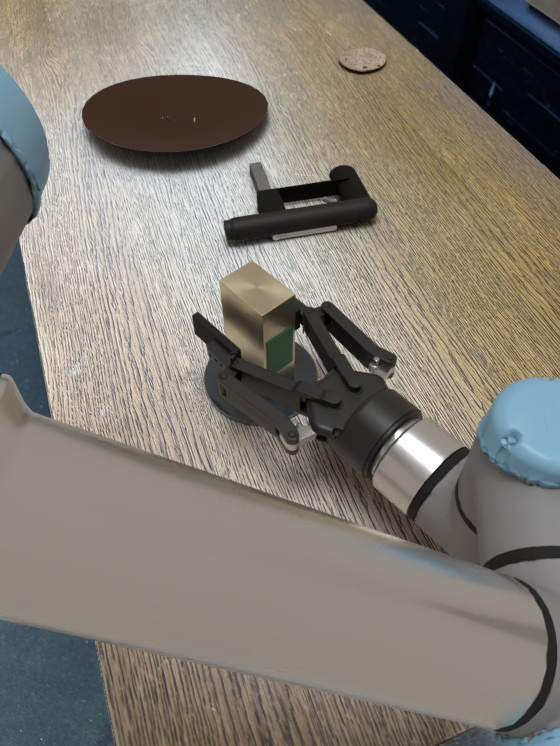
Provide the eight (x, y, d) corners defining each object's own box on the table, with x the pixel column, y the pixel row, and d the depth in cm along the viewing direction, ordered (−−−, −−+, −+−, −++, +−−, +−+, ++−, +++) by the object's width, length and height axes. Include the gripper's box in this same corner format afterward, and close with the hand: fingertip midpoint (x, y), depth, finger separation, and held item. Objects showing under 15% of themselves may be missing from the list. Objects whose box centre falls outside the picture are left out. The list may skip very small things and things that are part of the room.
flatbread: (351, 77, 108) (351, 71, 107) (332, 56, 112) (332, 50, 111) (394, 67, 109) (395, 61, 109) (374, 47, 114) (374, 42, 113)
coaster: (181, 375, 69) (181, 372, 69) (266, 319, 74) (265, 316, 74) (254, 446, 64) (254, 443, 63) (340, 381, 69) (340, 378, 68)
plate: (277, 78, 108) (277, 56, 105) (257, 180, 91) (256, 157, 88) (112, 71, 110) (107, 49, 107) (62, 169, 93) (55, 146, 90)
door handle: (207, 164, 89) (227, 233, 78) (347, 144, 92) (384, 208, 81) (209, 185, 91) (229, 255, 81) (345, 165, 94) (382, 230, 84)
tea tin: (228, 368, 69) (218, 280, 59) (257, 349, 71) (252, 260, 61) (266, 403, 66) (263, 317, 56) (295, 382, 68) (297, 294, 58)
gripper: (311, 541, 54) (151, 379, 64) (461, 409, 62) (297, 284, 72) (314, 499, 48) (137, 328, 58) (480, 359, 56) (298, 231, 67)
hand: (226, 304), depth 65 cm, fingers open, 7 cm apart
